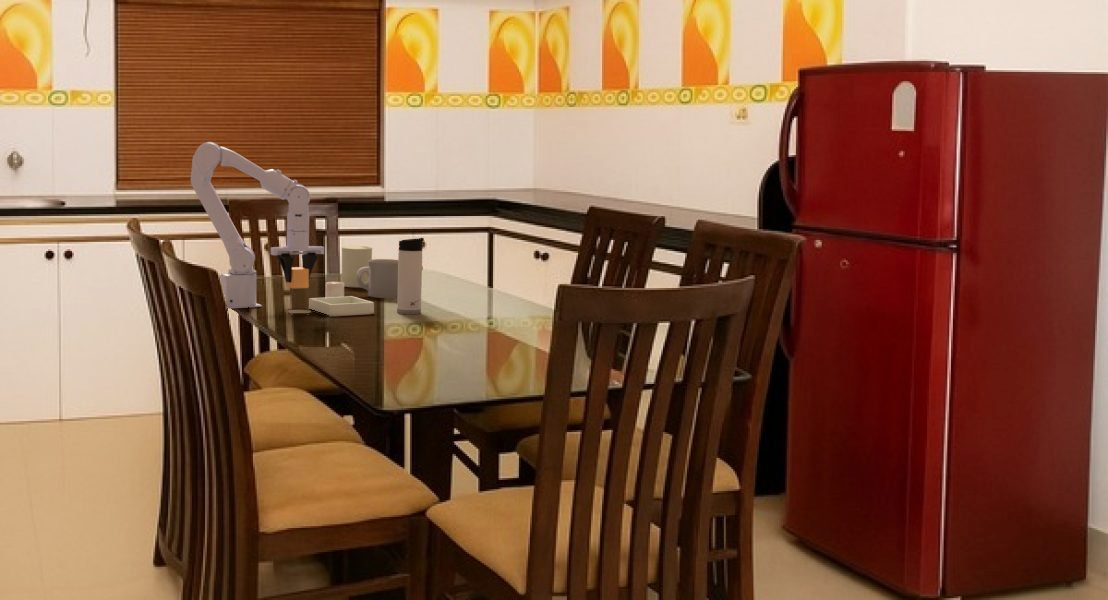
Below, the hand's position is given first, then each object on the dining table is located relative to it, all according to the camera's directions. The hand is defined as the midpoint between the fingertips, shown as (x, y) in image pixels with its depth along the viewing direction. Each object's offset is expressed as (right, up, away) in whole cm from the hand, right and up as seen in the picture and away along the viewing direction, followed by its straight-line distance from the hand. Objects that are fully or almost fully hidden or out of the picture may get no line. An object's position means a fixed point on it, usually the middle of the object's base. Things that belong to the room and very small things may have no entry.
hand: (297, 281), depth 368 cm
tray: (+12, -8, -5) cm, 15 cm away
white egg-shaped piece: (+9, -6, +7) cm, 13 cm away
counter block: (0, -1, 0) cm, 2 cm away
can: (+9, -1, +48) cm, 49 cm away
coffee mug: (+18, -4, +28) cm, 34 cm away
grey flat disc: (+2, -9, -9) cm, 13 cm away
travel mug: (+30, -9, -2) cm, 31 cm away
